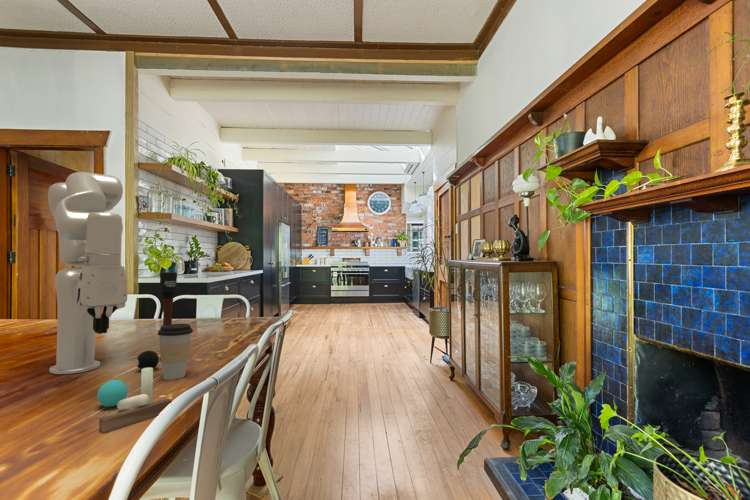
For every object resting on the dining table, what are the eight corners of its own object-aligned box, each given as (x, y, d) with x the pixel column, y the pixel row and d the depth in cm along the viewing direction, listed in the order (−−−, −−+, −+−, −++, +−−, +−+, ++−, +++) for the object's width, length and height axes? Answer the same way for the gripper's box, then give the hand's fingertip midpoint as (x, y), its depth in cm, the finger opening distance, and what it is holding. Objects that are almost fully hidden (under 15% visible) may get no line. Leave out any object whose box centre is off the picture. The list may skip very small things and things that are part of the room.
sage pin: (138, 407, 93) (139, 369, 93) (148, 404, 95) (149, 366, 95) (143, 409, 91) (144, 370, 92) (154, 406, 93) (155, 368, 94)
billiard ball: (161, 370, 123) (161, 351, 123) (139, 374, 118) (140, 354, 119) (154, 366, 127) (155, 347, 127) (133, 370, 123) (134, 350, 123)
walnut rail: (99, 430, 80) (99, 418, 80) (166, 409, 92) (166, 398, 92) (103, 433, 79) (104, 420, 79) (171, 410, 91) (171, 400, 91)
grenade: (157, 363, 131) (159, 272, 132) (156, 359, 136) (158, 272, 136) (176, 360, 134) (178, 272, 135) (174, 357, 139) (176, 272, 139)
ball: (106, 394, 89) (100, 415, 90) (134, 387, 94) (128, 407, 95) (96, 378, 92) (90, 399, 93) (123, 372, 97) (118, 392, 98)
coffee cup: (155, 383, 110) (157, 329, 110) (156, 374, 119) (158, 324, 119) (192, 379, 115) (194, 327, 115) (191, 370, 123) (192, 322, 123)
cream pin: (116, 400, 90) (137, 395, 86) (127, 398, 93) (148, 392, 88) (117, 411, 90) (138, 406, 86) (128, 408, 92) (149, 403, 88)
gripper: (74, 261, 92) (72, 340, 92) (141, 261, 105) (138, 330, 105) (61, 260, 96) (59, 335, 96) (127, 260, 109) (125, 326, 109)
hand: (100, 332), depth 101 cm, fingers closed
